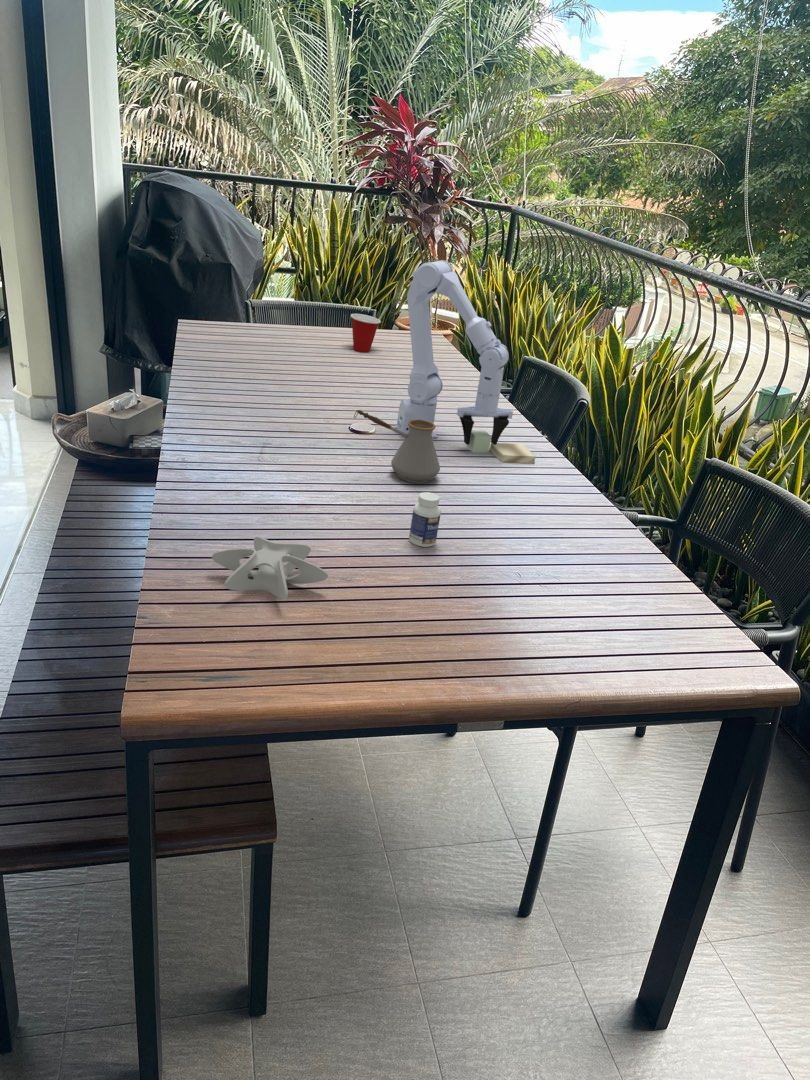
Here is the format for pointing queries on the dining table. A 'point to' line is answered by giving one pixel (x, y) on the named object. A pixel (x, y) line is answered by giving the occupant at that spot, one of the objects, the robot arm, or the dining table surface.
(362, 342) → the plastic cup
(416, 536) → the pill bottle
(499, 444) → the beige block
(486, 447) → the sage cube
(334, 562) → the dining table surface
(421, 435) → the coffee pot
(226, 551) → the sculpture
